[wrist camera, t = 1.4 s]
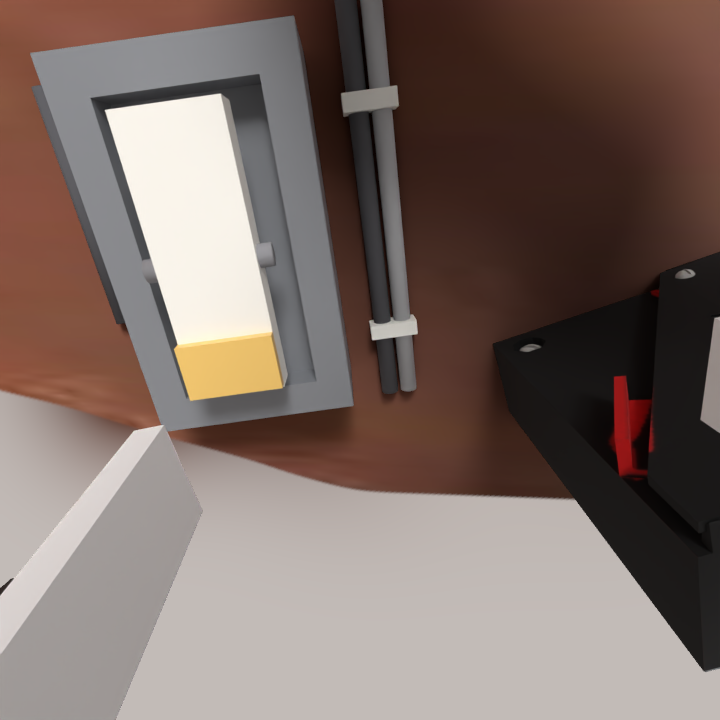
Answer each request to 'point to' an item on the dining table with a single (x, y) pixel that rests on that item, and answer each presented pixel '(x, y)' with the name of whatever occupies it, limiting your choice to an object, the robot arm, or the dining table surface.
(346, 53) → the dressed cords
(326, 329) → the breaker housing
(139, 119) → the rocker
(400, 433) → the dining table surface
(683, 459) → the electrical component
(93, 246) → the dark grey thin bar
